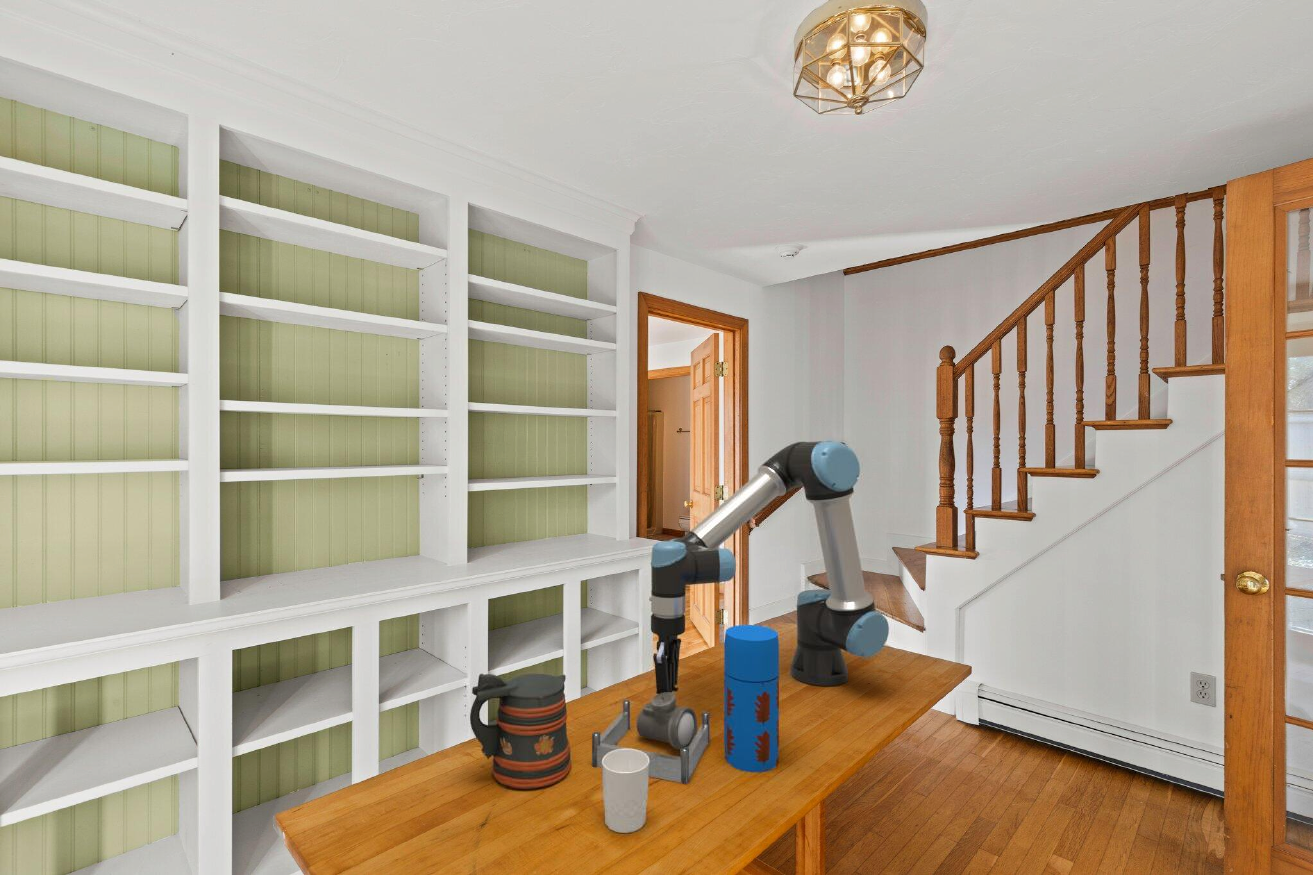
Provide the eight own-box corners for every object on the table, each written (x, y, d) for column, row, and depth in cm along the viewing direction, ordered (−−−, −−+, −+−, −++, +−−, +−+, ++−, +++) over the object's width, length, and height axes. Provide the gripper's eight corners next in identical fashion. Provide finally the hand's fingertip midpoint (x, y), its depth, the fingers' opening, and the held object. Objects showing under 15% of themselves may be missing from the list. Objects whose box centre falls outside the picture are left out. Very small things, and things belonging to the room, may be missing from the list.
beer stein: (485, 809, 103) (486, 691, 104) (459, 771, 115) (460, 665, 116) (584, 775, 114) (584, 669, 114) (551, 744, 126) (551, 647, 127)
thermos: (782, 750, 124) (782, 627, 125) (774, 776, 114) (775, 643, 114) (730, 741, 128) (730, 622, 128) (718, 766, 118) (718, 637, 118)
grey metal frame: (624, 726, 134) (624, 699, 134) (710, 740, 128) (710, 712, 128) (590, 765, 118) (590, 734, 118) (687, 784, 111) (687, 751, 111)
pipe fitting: (703, 735, 127) (692, 690, 126) (683, 760, 121) (672, 712, 120) (657, 726, 134) (646, 683, 133) (636, 749, 128) (625, 704, 127)
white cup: (601, 807, 104) (602, 749, 104) (647, 805, 105) (647, 747, 105) (601, 837, 96) (601, 773, 96) (650, 834, 97) (651, 771, 97)
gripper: (661, 605, 139) (659, 708, 139) (641, 619, 127) (640, 733, 127) (692, 608, 137) (691, 713, 137) (675, 623, 125) (674, 738, 124)
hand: (666, 722), depth 132 cm, fingers closed
